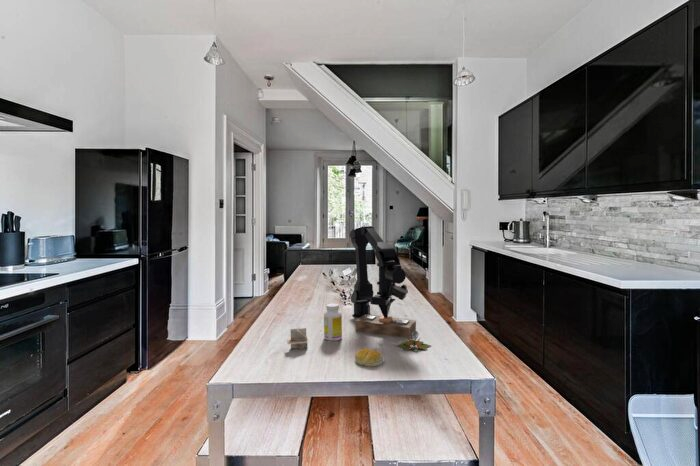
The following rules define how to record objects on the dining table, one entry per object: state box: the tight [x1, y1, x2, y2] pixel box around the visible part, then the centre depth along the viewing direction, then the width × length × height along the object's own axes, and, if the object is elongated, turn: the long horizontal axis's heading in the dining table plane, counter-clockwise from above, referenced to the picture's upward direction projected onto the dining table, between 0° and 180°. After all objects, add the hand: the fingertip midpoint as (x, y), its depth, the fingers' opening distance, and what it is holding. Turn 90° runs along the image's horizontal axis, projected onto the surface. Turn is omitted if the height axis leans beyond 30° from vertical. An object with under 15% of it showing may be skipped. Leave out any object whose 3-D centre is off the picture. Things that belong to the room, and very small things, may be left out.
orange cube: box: [379, 315, 393, 323], centre depth 155 cm, size 4×4×4 cm
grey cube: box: [363, 314, 376, 321], centre depth 158 cm, size 4×4×4 cm
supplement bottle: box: [323, 303, 343, 342], centre depth 146 cm, size 7×7×13 cm
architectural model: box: [286, 327, 309, 350], centre depth 135 cm, size 3×7×7 cm, turn 101°
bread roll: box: [354, 348, 385, 368], centre depth 125 cm, size 8×9×4 cm
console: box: [355, 314, 417, 339], centre depth 155 cm, size 22×10×4 cm, turn 65°
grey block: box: [396, 318, 410, 325], centre depth 152 cm, size 4×4×4 cm
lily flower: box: [397, 334, 432, 354], centre depth 138 cm, size 12×12×5 cm
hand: (385, 317), depth 155 cm, fingers closed, pressing on orange cube
